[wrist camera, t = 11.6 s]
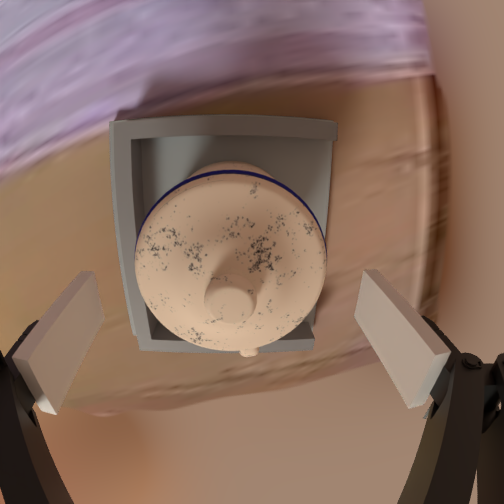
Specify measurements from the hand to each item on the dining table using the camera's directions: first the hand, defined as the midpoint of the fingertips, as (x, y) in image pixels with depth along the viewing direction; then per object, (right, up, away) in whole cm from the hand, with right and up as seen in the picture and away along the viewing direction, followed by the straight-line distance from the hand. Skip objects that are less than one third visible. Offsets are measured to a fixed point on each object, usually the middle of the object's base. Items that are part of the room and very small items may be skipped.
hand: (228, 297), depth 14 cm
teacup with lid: (0, +3, +9) cm, 9 cm away
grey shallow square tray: (-1, +3, +9) cm, 10 cm away
